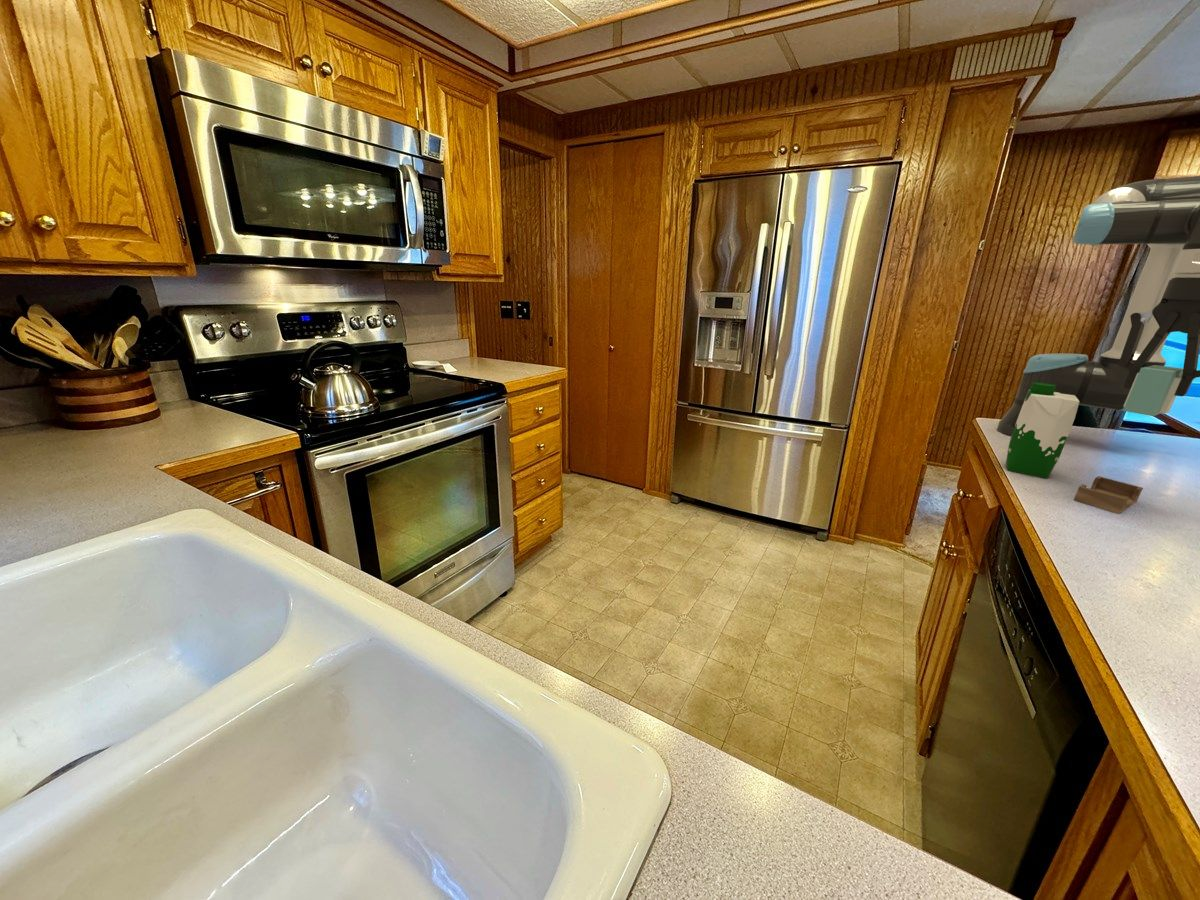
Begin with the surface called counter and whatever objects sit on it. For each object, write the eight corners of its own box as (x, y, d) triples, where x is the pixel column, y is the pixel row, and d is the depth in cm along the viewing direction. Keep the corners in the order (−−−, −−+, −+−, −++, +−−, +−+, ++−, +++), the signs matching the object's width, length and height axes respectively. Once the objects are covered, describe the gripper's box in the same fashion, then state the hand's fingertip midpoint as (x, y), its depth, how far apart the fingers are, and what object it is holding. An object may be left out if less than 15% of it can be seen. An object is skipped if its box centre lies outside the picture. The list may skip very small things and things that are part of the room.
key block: (1137, 405, 94) (1154, 365, 91) (1166, 410, 91) (1185, 368, 88) (1122, 410, 89) (1140, 368, 87) (1153, 416, 86) (1173, 372, 84)
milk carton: (1001, 460, 117) (1029, 379, 110) (1050, 469, 112) (1082, 385, 105) (1002, 470, 111) (1031, 385, 104) (1054, 481, 106) (1088, 392, 99)
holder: (1093, 488, 102) (1098, 476, 101) (1136, 501, 97) (1143, 487, 96) (1073, 500, 96) (1079, 486, 95) (1118, 513, 91) (1125, 499, 90)
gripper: (1127, 275, 87) (1078, 401, 95) (1283, 277, 73) (1211, 423, 81) (1139, 276, 91) (1091, 397, 99) (1289, 278, 77) (1220, 418, 85)
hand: (1145, 409), depth 90 cm, fingers closed on key block, 4 cm apart
